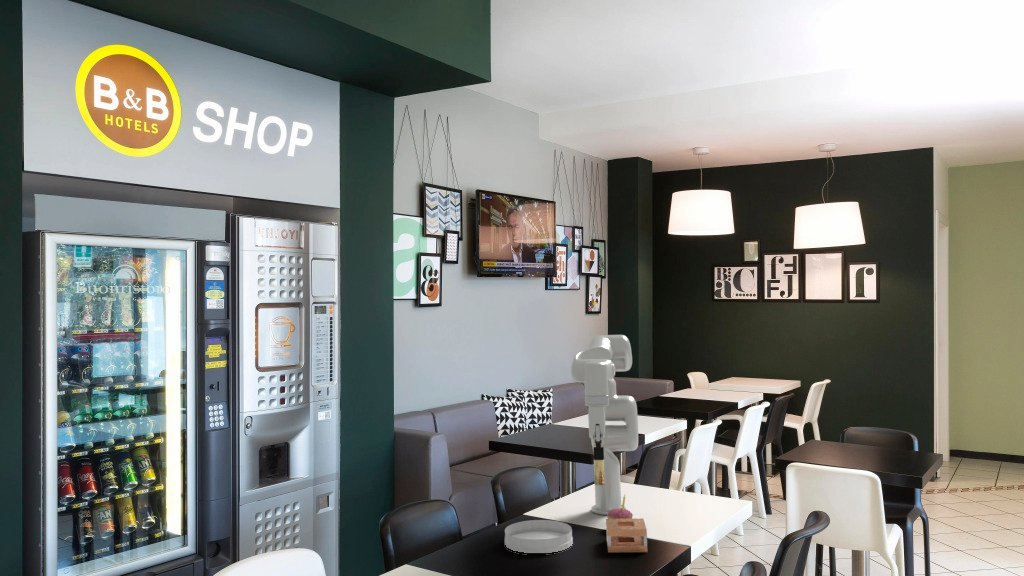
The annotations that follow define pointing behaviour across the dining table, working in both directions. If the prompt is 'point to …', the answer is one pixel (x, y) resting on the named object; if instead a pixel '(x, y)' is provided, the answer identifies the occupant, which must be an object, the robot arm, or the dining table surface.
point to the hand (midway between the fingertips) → (598, 458)
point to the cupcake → (620, 513)
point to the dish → (538, 536)
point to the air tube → (598, 469)
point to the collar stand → (626, 535)
